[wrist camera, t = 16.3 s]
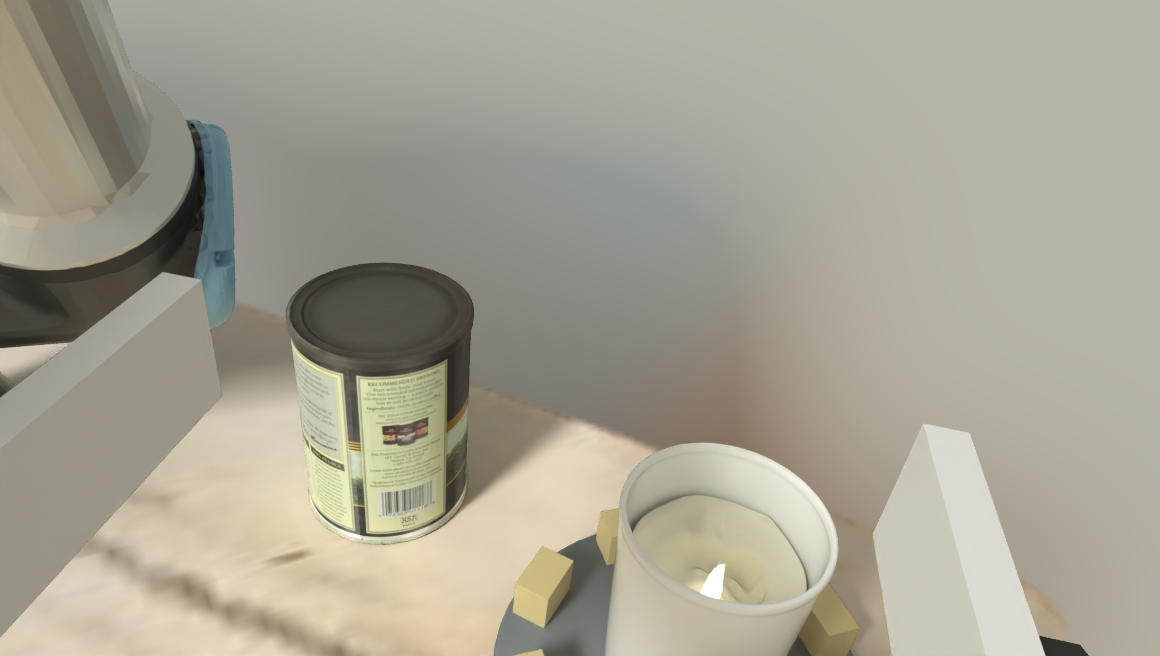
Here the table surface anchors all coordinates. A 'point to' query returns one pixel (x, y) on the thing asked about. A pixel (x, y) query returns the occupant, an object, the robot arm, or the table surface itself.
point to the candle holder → (716, 555)
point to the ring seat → (582, 597)
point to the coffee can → (383, 398)
